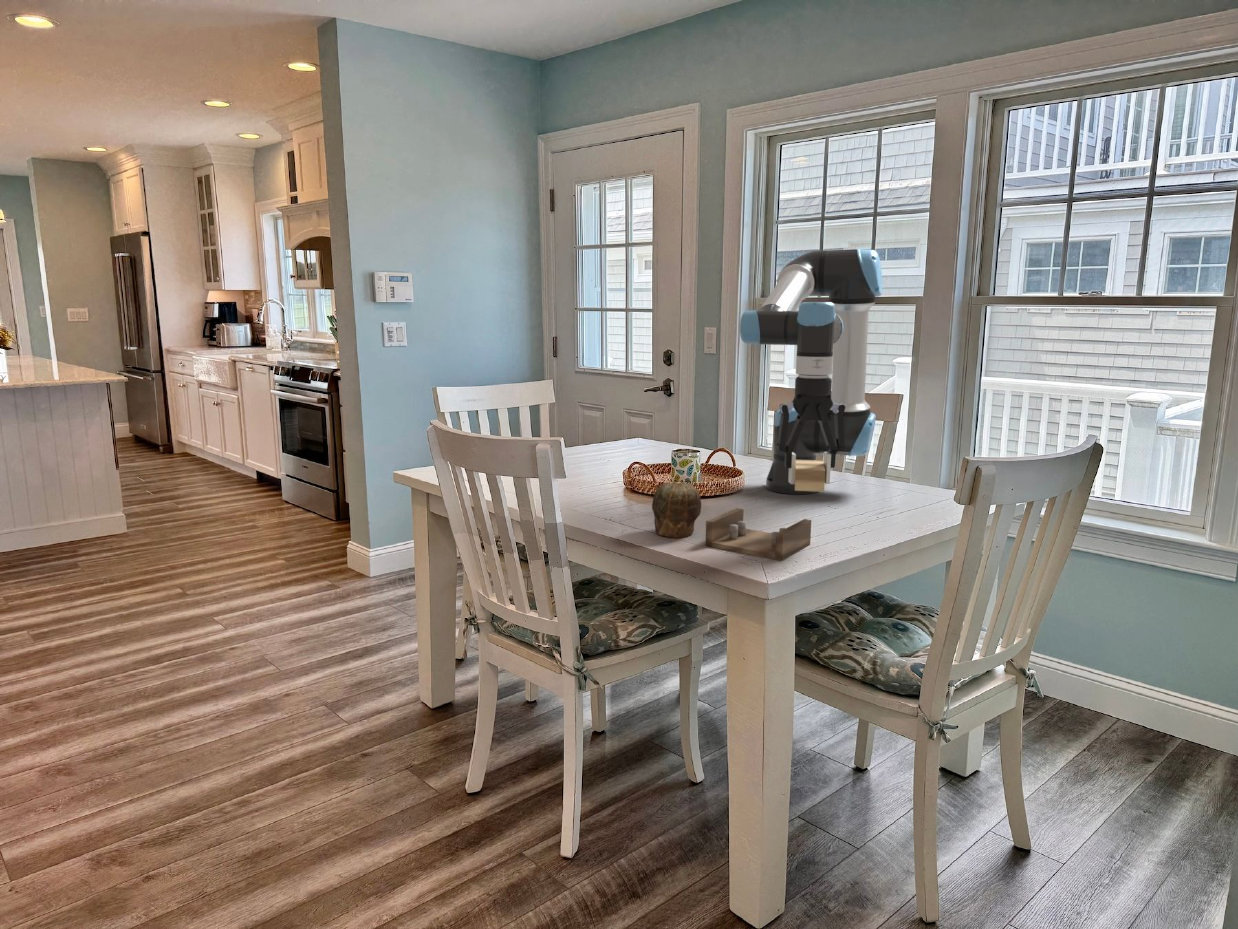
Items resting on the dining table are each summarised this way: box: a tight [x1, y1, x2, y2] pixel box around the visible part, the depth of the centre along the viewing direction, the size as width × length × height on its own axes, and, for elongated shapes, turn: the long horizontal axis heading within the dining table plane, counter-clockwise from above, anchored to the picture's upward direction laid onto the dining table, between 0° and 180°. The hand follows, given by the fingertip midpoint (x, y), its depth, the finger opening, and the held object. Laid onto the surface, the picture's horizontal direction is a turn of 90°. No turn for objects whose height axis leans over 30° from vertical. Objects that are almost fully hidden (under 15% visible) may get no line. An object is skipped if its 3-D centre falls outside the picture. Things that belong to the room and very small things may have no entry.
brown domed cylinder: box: [651, 481, 702, 539], centre depth 188 cm, size 11×11×12 cm
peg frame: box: [705, 507, 812, 562], centre depth 180 cm, size 18×14×6 cm
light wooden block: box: [795, 459, 826, 493], centre depth 180 cm, size 12×6×4 cm, turn 168°
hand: (808, 482), depth 180 cm, fingers closed on light wooden block, 7 cm apart
